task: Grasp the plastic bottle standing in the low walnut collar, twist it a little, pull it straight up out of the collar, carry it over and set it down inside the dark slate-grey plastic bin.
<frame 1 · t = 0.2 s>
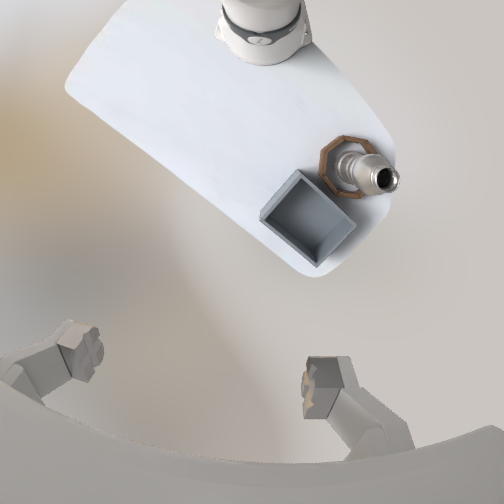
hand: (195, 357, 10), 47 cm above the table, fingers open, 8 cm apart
collar: (347, 166, 51), on the table
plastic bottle: (347, 166, 51), resting in collar
bin: (304, 213, 55), on the table
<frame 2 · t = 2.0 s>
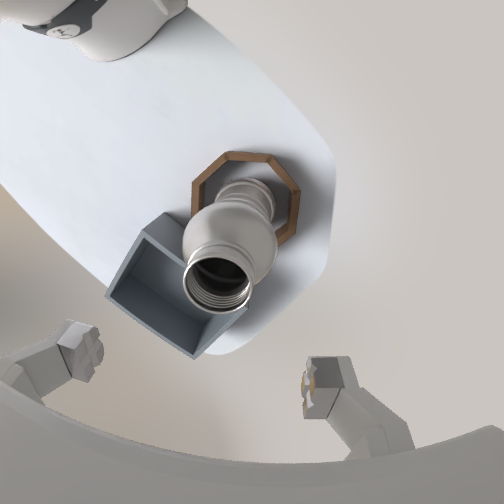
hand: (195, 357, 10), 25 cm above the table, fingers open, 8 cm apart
collar: (246, 201, 33), on the table
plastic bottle: (246, 201, 33), resting in collar
bin: (185, 275, 37), on the table
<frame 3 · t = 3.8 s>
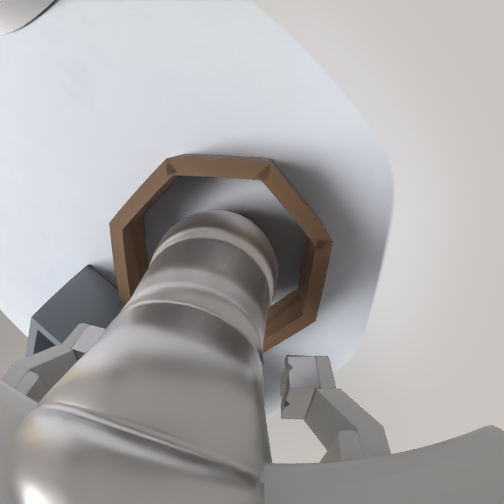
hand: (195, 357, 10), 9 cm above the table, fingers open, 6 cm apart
collar: (221, 251, 17), on the table
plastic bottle: (221, 250, 17), resting in collar, touching arm, gripper
bin: (134, 356, 21), on the table
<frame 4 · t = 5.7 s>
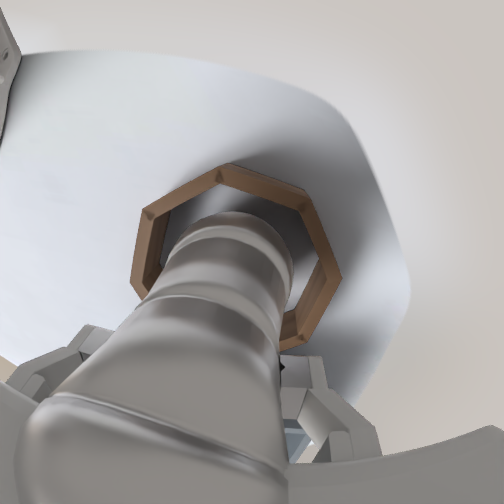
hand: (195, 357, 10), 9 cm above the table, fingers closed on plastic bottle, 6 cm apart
collar: (235, 260, 18), on the table
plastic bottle: (237, 252, 18), point 1 cm above the table, touching gripper
bin: (216, 389, 23), on the table
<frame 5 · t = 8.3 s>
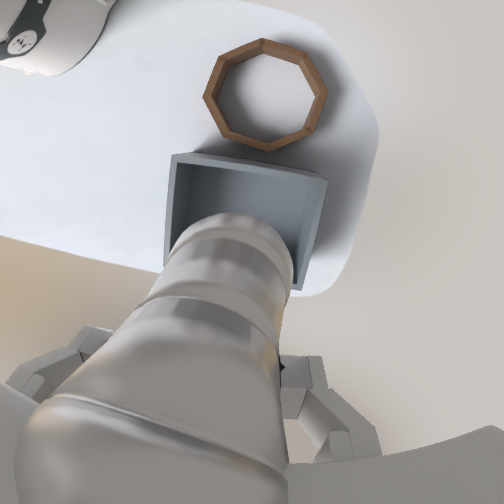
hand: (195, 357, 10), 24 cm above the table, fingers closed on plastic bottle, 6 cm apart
collar: (265, 96, 27), on the table
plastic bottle: (236, 253, 18), point 15 cm above the table, touching gripper
bin: (245, 208, 32), on the table
when the fingers open (11 cm above the table, at t = 11.1 s): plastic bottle drops 1 cm, resting on bin.
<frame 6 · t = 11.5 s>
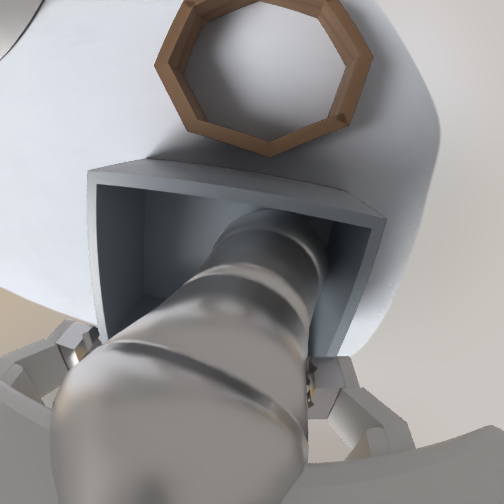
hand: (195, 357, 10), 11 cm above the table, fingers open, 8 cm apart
collar: (264, 64, 15), on the table
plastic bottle: (276, 249, 19), point 1 cm above the table, touching bin, gripper
bin: (231, 248, 20), on the table
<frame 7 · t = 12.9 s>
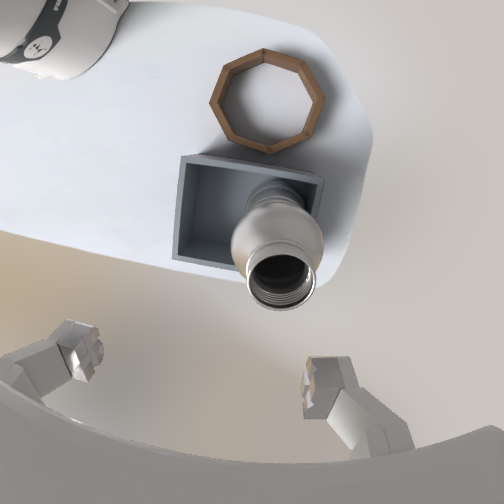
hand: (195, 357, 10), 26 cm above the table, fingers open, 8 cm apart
collar: (267, 103, 30), on the table
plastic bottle: (274, 204, 33), resting on bin
bin: (248, 206, 34), on the table
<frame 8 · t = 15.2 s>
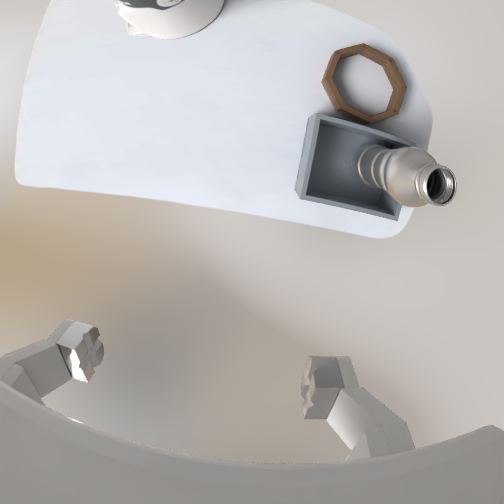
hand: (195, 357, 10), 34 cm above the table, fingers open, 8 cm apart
collar: (361, 85, 34), on the table
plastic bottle: (367, 163, 38), resting on bin
bin: (347, 164, 39), on the table
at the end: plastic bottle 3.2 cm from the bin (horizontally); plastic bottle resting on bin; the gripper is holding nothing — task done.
